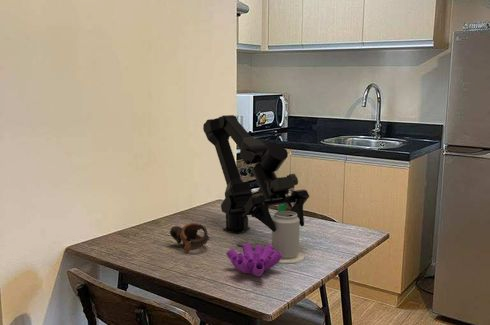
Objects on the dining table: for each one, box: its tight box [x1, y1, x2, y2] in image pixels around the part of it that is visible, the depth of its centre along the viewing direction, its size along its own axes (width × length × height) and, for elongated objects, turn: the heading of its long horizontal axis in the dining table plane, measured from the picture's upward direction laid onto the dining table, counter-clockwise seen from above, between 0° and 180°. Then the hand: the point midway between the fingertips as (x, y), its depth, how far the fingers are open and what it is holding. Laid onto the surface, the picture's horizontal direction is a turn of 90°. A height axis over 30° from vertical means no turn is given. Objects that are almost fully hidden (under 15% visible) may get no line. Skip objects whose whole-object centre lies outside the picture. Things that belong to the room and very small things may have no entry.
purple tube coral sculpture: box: [225, 243, 282, 277], centre depth 126 cm, size 11×15×10 cm
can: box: [271, 211, 301, 259], centre depth 135 cm, size 8×8×12 cm
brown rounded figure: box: [169, 222, 210, 254], centre depth 143 cm, size 12×10×8 cm
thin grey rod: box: [236, 241, 265, 251], centre depth 142 cm, size 11×1×1 cm, turn 56°
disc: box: [277, 251, 305, 265], centre depth 136 cm, size 10×10×1 cm
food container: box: [277, 187, 295, 212], centre depth 171 cm, size 12×6×10 cm, turn 172°
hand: (289, 228), depth 134 cm, fingers open, 9 cm apart
